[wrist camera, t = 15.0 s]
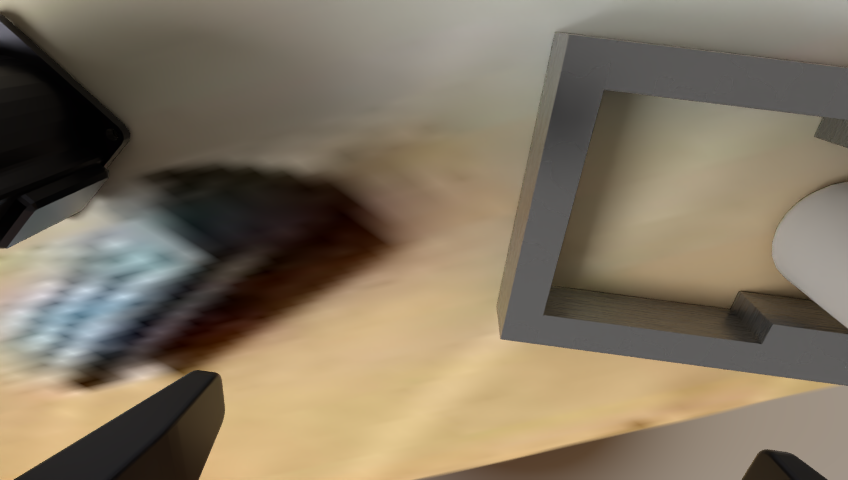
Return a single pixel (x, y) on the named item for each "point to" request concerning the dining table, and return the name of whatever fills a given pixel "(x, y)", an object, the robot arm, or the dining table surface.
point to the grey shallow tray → (648, 318)
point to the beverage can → (817, 248)
